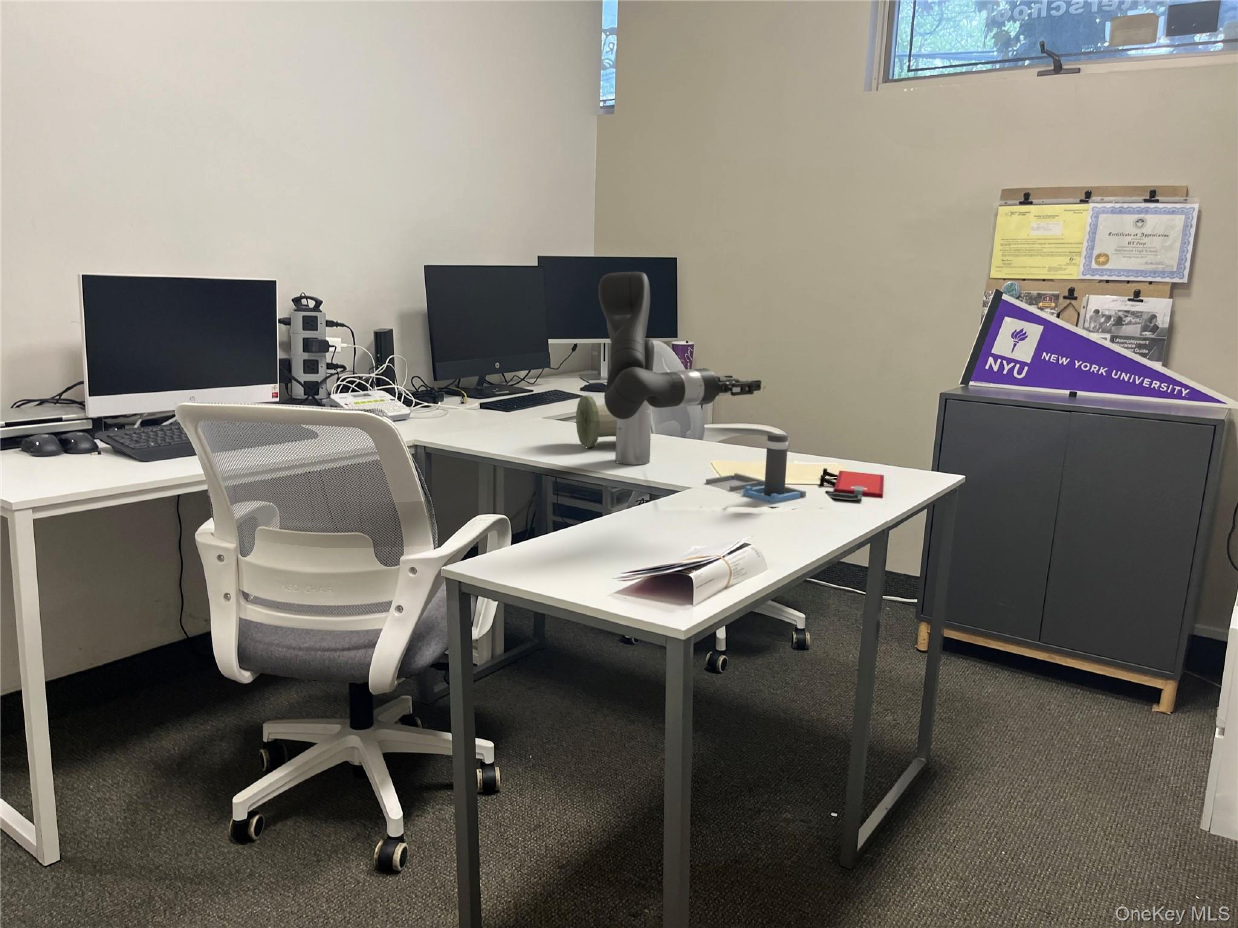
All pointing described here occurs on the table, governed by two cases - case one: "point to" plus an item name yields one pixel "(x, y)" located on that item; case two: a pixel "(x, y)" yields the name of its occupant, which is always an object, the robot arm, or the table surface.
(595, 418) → the spool
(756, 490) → the blue and grey tray
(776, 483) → the banded grey cylinder
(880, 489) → the red board with handle
